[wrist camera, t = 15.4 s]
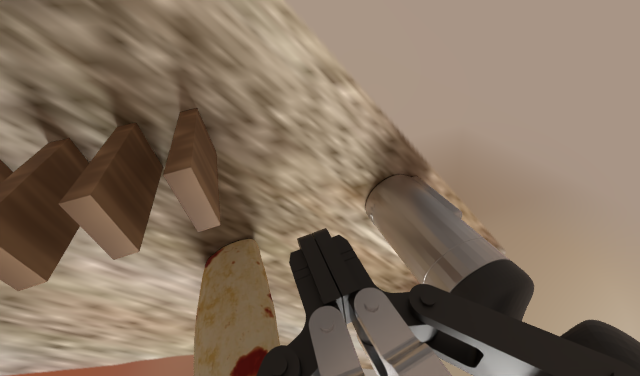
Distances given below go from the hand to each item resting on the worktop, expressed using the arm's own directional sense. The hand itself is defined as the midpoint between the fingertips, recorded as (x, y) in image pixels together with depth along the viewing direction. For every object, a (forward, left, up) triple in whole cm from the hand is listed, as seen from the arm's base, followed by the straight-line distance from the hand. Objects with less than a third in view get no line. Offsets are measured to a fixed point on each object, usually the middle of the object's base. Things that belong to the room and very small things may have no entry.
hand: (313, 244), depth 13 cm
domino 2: (+11, 0, -19) cm, 22 cm away
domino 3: (+6, 0, -19) cm, 20 cm away
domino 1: (+17, 0, -19) cm, 25 cm away
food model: (+9, +18, -19) cm, 28 cm away
